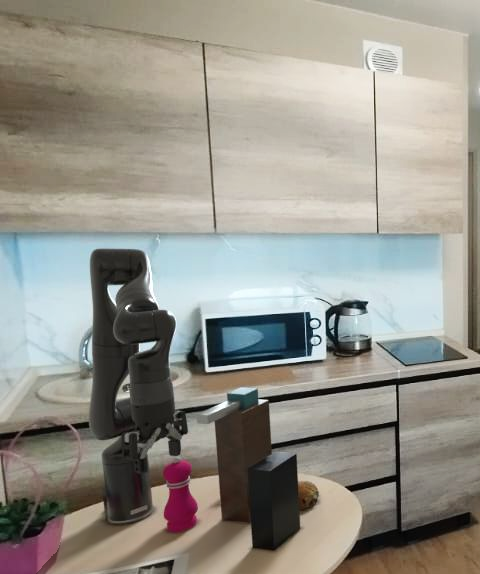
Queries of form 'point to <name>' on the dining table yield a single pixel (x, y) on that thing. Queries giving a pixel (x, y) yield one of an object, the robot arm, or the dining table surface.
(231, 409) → the handle bar
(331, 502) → the dining table surface
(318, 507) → the dining table surface
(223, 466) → the plinth
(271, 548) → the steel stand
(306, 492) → the bread roll
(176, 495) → the pepper mill
